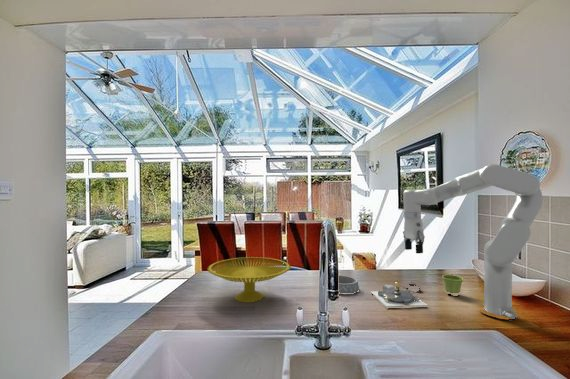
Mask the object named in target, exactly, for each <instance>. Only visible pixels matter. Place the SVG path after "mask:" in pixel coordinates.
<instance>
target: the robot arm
mask: <svg viewBox="0 0 570 379" xmlns="http://www.w3.org/2000/svg"><path fill="white" fill-rule="evenodd" d="M490 187H496V188H499V189H502V190H505V191H507V192H511V193H514V195H515V202H514V203H513V205H512V206H511V208H510V210H509V211H508V212H507V214H506V216H505V217H504V218H503V220H502V221H501V222H500V223H499V226H498V229H499V230H498V231H497V233H496V234H495V236H494V237H493V238H492V239H490V240H489V241H487V242H486V243H485V245H484V248H483V258H484V259H483V262H484V263H483V264H484V265H483V266H484V267H483V268H484V269H483V272H484V275H483V277H484V278H483V281H484V282H483V290H484V291H483V296H484V297H483V306H484V309H485V310H486V311H487V312H489V313H492V314H495V315H499V316H505V317H509V318H511V319H515V317H516V318H518V316H519V314H518V313H516V312H514V307H512V305H513V303H512V302H513V301H512V300H513V299H512V298H513V296H512V295H513V294H512V293H513V286H512V285H513V284H512V283H513V266H512V265H513V262H514V261H515V260H516V259H517V257H518V256H519V254H520V253H521V251H522V250H523V249H524V248H525V246H526V244H527V243H528V241H529V240H530V237H531V234H532V233H531V232H532V231H531V228H530V227H531V225H532V224H533V223H534V221H535V220H536V218H537V216H538V214H539V213H540V212H541V209H542V206H543V202H544V198H543V193H542V190H541V188H540V187H541V182H540V179H539V178H538V177H537V176H536V175H533V174H531V173H528V172H525V171H521V170H517V169H514V168H510V167H508V166H507V167H506V166H503V165H500V164H495V163H491V164H487V165H485V166H484V167H482V168H479V169H475V170H473V171H470V172H468V173H464V174H461V175H459V176H455V177H454V178H453V179H451V180H449V181H448V182H444V183H442V184H440V185H437V186H434V187H432V188H425V189H407V190H404V191H403V193H402V196H403V197H402V198H403V199H402V200H403V218H404V221H403V223H404V224H403V225H404V226H403V231H402V234H403V238H404V239H403V240H404V249H405V251H409V250H410V251H411V250H412V249H413V246H412V241H415V253H416V254H424V242H425V238H426V236H425V234H424V232H425V231H424V225H423V224H424V223H423V219H422V208H421V206H423V205H424V206H425V205H426V206H431V205H434V204H438V203H440V202H443V201H446V200H449V199H453V198H457V197H461V196H465V195H468V194H472V193H474V192H476V191H481V190H483V189H486V188H490ZM515 320H516V319H515Z"/></svg>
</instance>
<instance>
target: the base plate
mask: <svg viewBox="0 0 570 379" xmlns="http://www.w3.org/2000/svg"><path fill="white" fill-rule="evenodd" d="M378 291H379V290H377V291H375V290H374V291H370V294H371V293H372V294H373V295H375V297H376V298H377V299H378V300H379V301H380V302H381V303H382V304H383V305H384V306H385V307H403V306H424V305H428V304H427V303H426V302H424V301H423V300H421V299H420V300H419V301H417V302H416V301H414V300H413V301H412V302H409V304H403V303H398V302H392V301H388V302H387V301H384V298H383V297H382V296H381V295H378ZM377 299H376V300H377ZM378 300H377V301H378ZM379 301H378V302H379ZM422 301H423V302H422ZM380 302H379V303H380ZM381 303H380V304H381ZM382 304H381V305H382ZM383 305H382V306H383ZM384 306H383V307H384ZM385 307H384V308H385Z"/></svg>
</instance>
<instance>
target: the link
mask: <svg viewBox="0 0 570 379" xmlns="http://www.w3.org/2000/svg"><path fill="white" fill-rule="evenodd" d="M395 289H396V286H394V285H392V284H382V291H383V294H384V295H386V296H395Z"/></svg>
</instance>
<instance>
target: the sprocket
mask: <svg viewBox="0 0 570 379" xmlns="http://www.w3.org/2000/svg"><path fill="white" fill-rule="evenodd" d="M377 291H378V295H381V296H382V297H383V298H384V301H387V302H388V301H392V302H398V303H403V304H409V302H412V301H413V300H415V301H418V299H419V296H417V295H414V294H412V292H411V291H409V290H408V289H405V290H402V289H400V285H399V282H397V281H395V296H386V295H384V294H383V290H377ZM413 295H414V296H413Z"/></svg>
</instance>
